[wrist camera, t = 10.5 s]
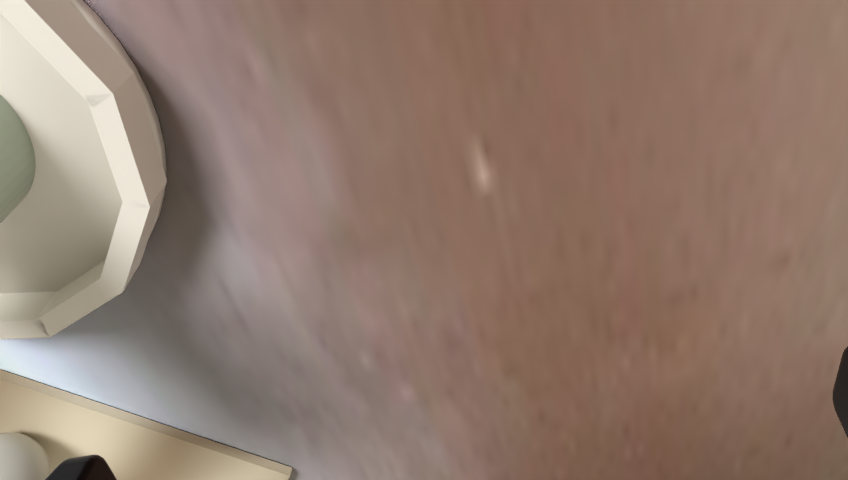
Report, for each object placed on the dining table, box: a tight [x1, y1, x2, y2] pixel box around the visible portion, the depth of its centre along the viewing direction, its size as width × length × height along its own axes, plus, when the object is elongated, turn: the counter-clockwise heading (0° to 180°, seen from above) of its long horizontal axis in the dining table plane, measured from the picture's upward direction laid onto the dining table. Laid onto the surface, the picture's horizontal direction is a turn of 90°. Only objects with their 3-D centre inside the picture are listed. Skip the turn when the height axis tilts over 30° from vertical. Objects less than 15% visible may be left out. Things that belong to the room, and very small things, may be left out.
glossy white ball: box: [0, 432, 50, 480], centre depth 26 cm, size 3×3×3 cm
